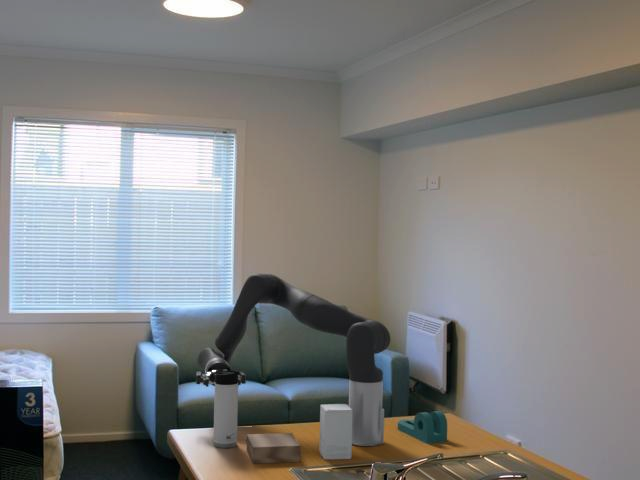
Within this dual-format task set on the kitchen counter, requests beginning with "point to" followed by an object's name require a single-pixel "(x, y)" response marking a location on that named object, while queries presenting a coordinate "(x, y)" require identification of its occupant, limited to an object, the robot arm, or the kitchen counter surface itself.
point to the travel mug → (226, 409)
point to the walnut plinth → (273, 448)
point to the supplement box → (335, 431)
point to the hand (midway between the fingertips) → (222, 382)
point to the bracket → (426, 427)
